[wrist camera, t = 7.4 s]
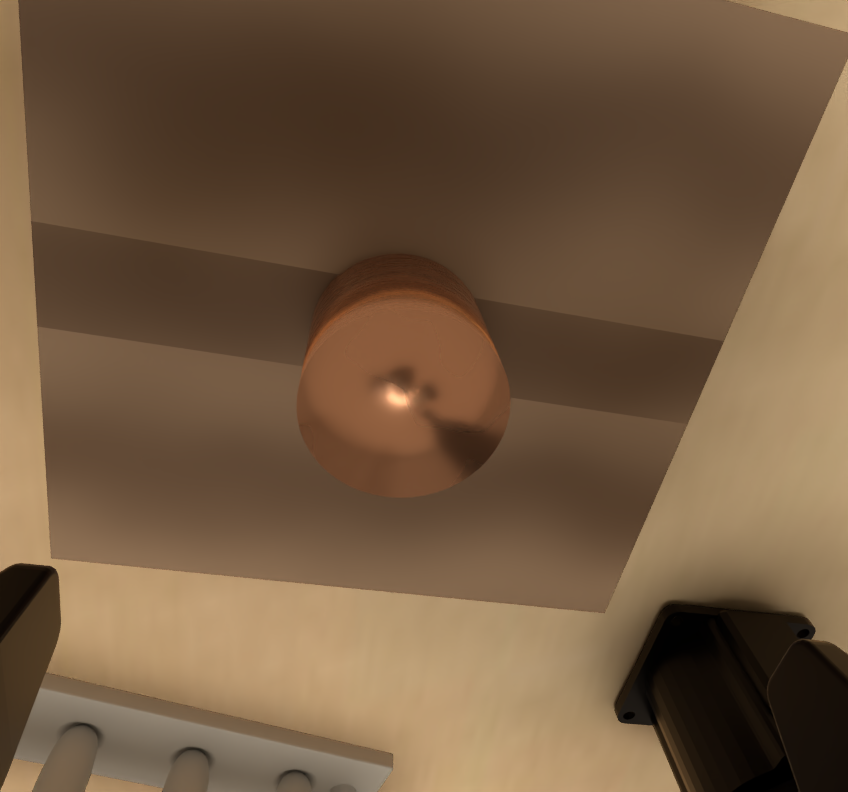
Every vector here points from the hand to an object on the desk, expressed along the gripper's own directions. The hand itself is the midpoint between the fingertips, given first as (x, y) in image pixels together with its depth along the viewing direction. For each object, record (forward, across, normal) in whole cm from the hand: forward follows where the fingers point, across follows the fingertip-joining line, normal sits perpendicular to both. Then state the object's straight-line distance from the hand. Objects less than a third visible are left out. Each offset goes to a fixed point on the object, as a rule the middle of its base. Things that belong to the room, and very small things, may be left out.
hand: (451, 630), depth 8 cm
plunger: (+13, 0, 0) cm, 13 cm away
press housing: (+13, 0, 0) cm, 13 cm away
